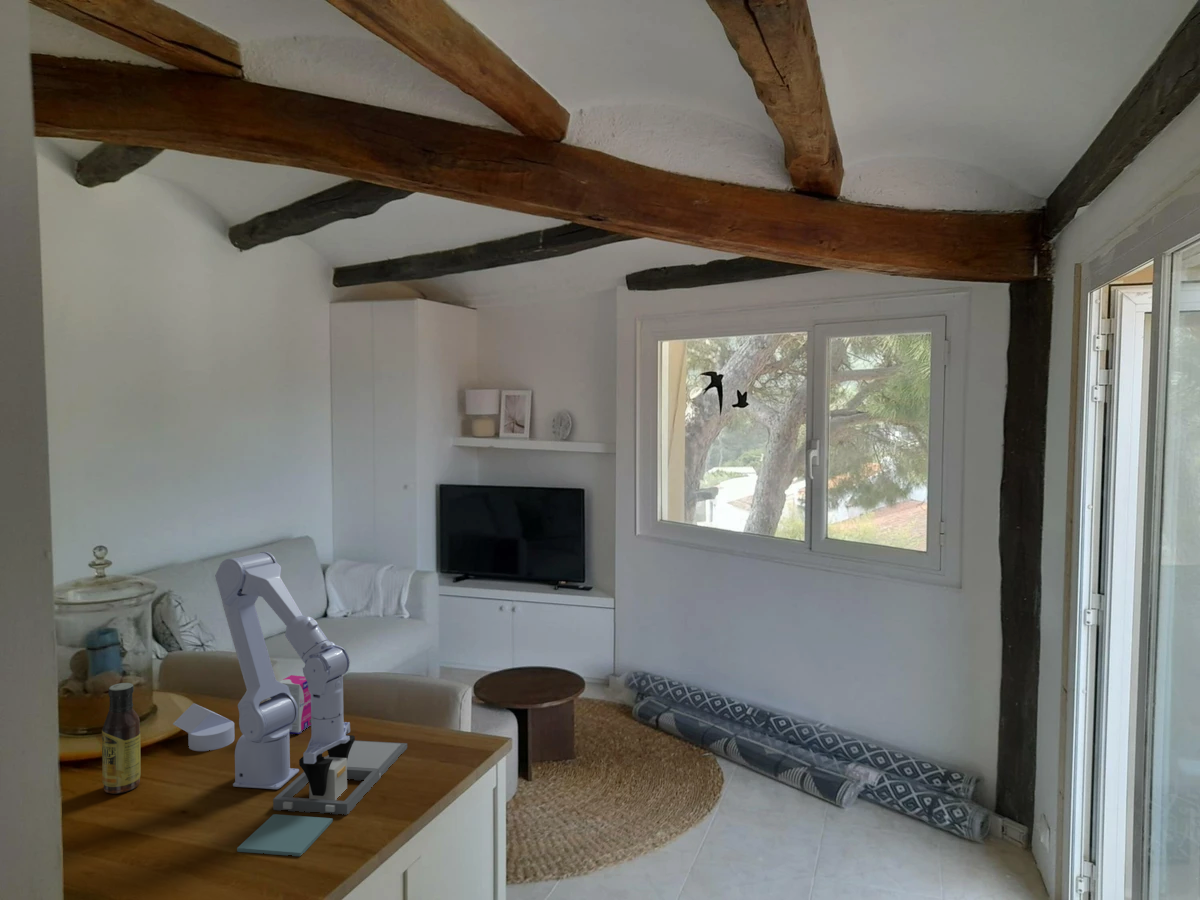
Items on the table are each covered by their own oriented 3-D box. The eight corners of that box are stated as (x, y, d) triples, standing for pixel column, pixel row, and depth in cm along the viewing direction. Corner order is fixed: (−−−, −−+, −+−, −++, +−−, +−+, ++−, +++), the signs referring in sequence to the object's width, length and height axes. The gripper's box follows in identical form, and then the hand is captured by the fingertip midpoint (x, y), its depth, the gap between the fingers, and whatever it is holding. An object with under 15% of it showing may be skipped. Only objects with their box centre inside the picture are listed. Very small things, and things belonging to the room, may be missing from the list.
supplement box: (299, 735, 175) (298, 684, 175) (275, 733, 176) (274, 682, 176) (313, 725, 181) (313, 676, 180) (290, 723, 182) (289, 674, 181)
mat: (237, 851, 128) (237, 847, 128) (273, 817, 139) (273, 814, 139) (300, 856, 127) (300, 852, 127) (332, 821, 138) (332, 818, 138)
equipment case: (271, 811, 141) (271, 800, 141) (345, 744, 170) (344, 735, 170) (345, 816, 139) (345, 805, 139) (407, 748, 168) (407, 738, 168)
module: (309, 799, 146) (308, 768, 146) (322, 787, 151) (321, 756, 150) (336, 801, 145) (335, 769, 145) (348, 789, 150) (347, 758, 150)
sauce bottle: (98, 788, 150) (95, 685, 149) (134, 777, 155) (132, 677, 154) (109, 799, 146) (106, 693, 145) (146, 788, 150) (143, 685, 149)
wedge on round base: (172, 739, 173) (200, 754, 165) (172, 708, 173) (199, 723, 165) (214, 726, 180) (242, 741, 172) (213, 697, 180) (241, 710, 172)
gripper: (329, 730, 140) (330, 805, 140) (364, 700, 154) (365, 769, 155) (291, 728, 140) (293, 802, 141) (330, 699, 155) (331, 767, 155)
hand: (328, 785), depth 148 cm, fingers open, 7 cm apart
